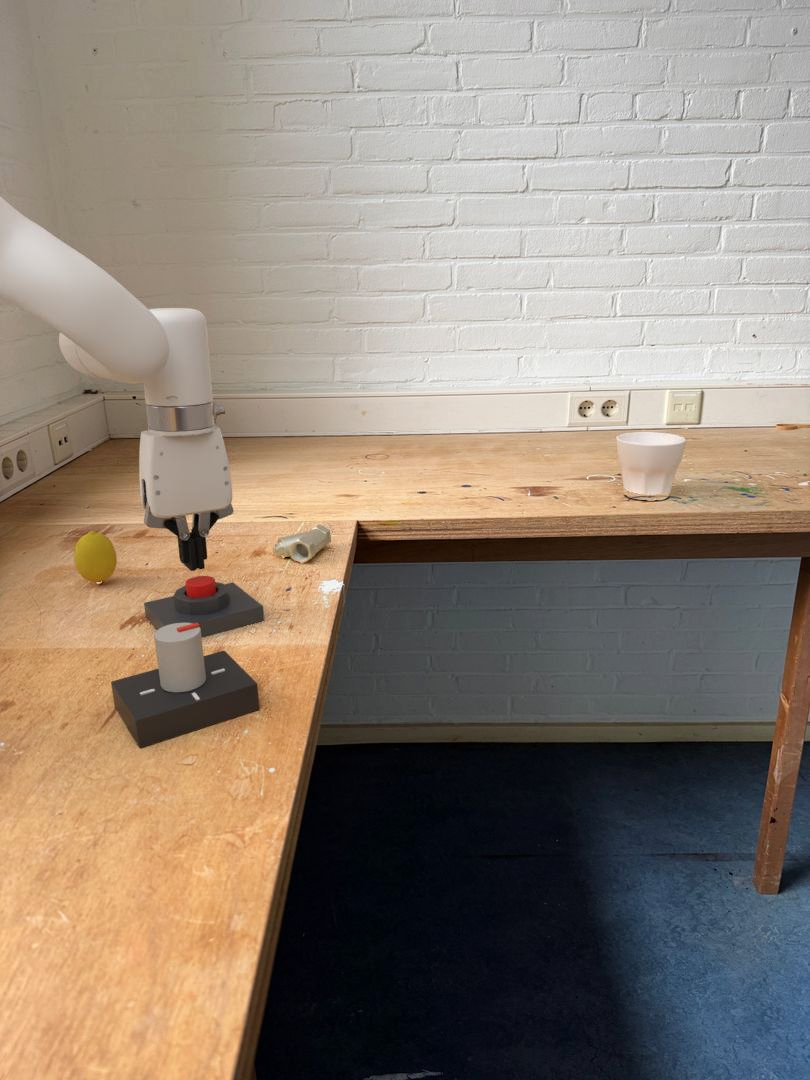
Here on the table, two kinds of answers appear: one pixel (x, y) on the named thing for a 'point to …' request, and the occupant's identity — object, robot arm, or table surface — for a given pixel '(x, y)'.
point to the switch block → (207, 610)
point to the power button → (200, 586)
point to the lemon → (95, 557)
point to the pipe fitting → (303, 544)
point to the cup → (649, 461)
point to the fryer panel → (184, 701)
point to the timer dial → (180, 657)
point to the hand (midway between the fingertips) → (194, 566)
